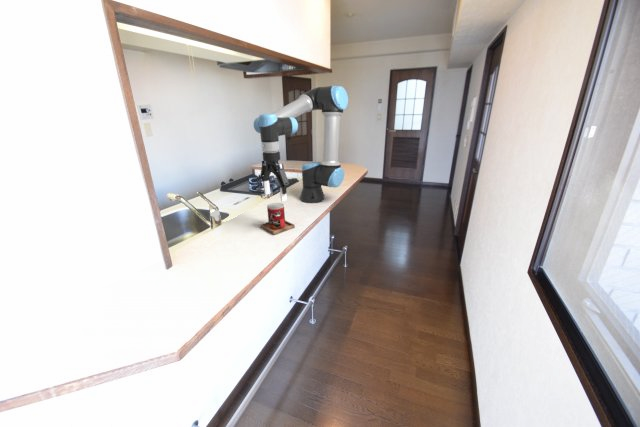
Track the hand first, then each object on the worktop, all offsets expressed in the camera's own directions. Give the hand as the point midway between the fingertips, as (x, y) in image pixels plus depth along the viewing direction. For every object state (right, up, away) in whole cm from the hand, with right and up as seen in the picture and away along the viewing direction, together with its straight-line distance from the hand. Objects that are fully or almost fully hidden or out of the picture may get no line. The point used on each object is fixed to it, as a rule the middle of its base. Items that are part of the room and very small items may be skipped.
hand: (275, 197), depth 127 cm
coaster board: (0, -15, +5) cm, 16 cm away
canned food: (0, -14, +5) cm, 15 cm away
